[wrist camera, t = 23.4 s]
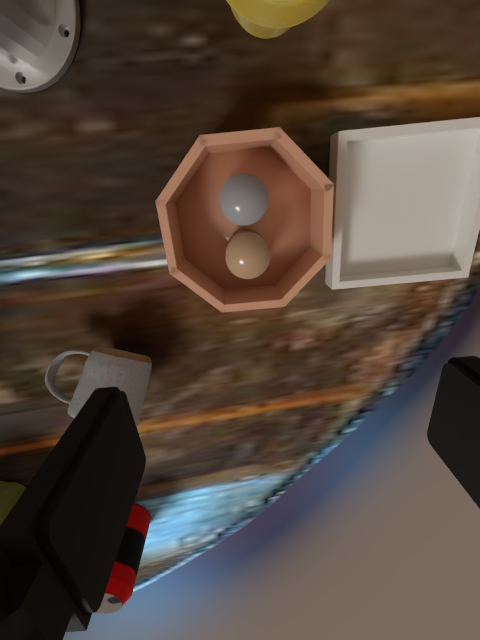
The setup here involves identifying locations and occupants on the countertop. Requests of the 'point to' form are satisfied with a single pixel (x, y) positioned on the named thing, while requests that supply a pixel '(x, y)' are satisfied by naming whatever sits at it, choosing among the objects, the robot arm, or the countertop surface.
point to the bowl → (274, 226)
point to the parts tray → (404, 203)
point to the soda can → (126, 561)
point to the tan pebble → (247, 254)
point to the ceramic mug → (105, 377)
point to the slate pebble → (244, 199)
